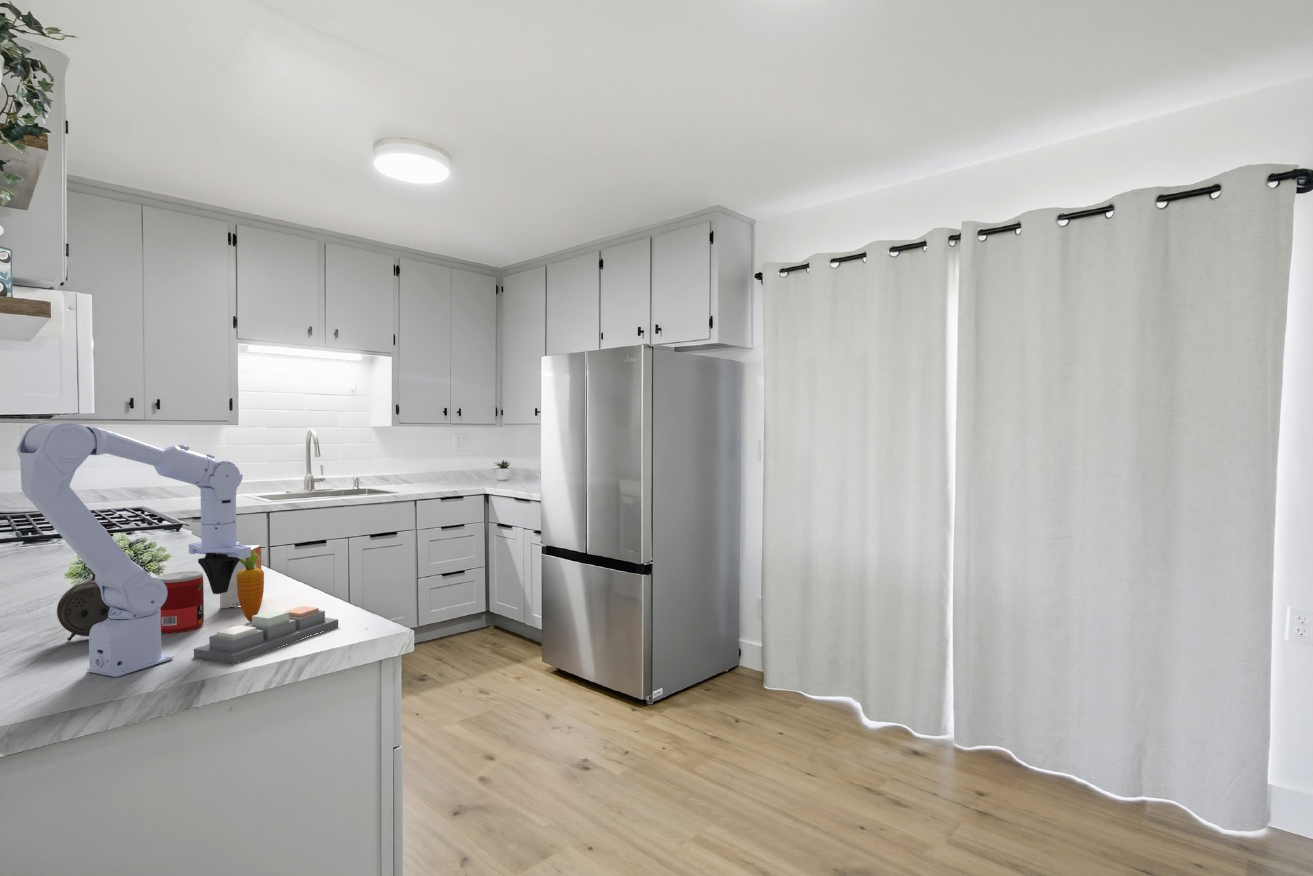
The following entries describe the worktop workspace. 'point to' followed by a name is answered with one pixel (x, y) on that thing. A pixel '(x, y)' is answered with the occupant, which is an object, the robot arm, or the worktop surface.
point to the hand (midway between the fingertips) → (220, 592)
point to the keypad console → (264, 638)
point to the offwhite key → (236, 632)
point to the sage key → (270, 618)
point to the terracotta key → (302, 611)
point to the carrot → (250, 587)
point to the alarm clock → (82, 607)
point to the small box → (231, 595)
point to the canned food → (182, 602)
